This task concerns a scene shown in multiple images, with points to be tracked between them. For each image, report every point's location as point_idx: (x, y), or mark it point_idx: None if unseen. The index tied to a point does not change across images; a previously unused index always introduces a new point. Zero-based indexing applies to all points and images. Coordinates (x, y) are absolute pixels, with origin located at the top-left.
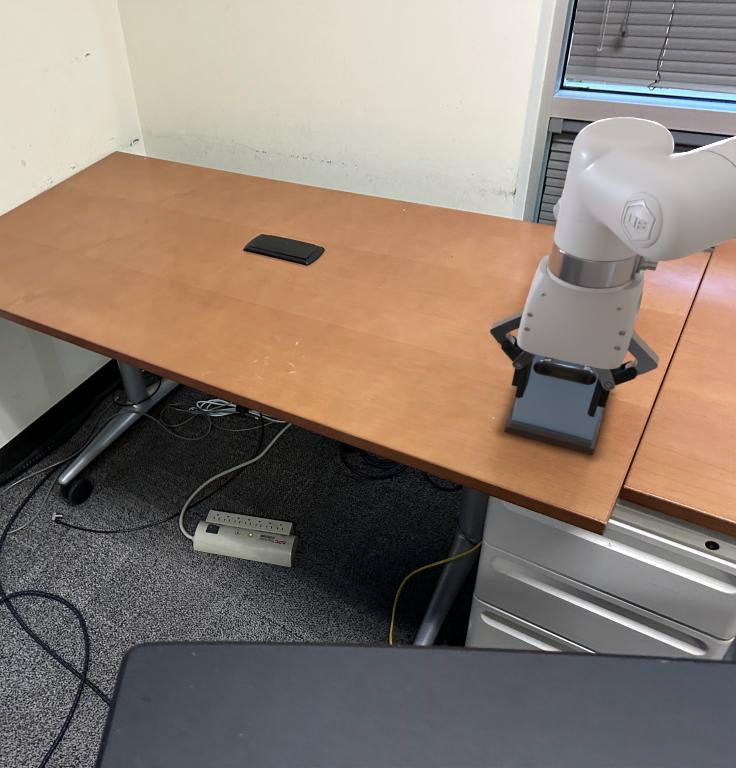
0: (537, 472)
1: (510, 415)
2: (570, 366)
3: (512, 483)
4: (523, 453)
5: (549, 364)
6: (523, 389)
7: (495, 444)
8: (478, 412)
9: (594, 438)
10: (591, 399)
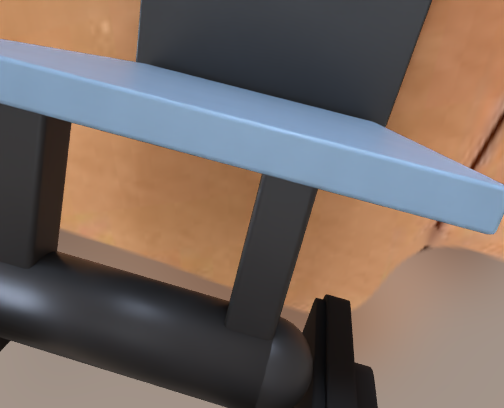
0: (232, 222)
1: (140, 35)
2: (134, 349)
3: (181, 258)
4: (198, 164)
5: (9, 337)
6: (2, 346)
7: (129, 141)
8: (61, 8)
9: (386, 105)
10: (309, 320)
